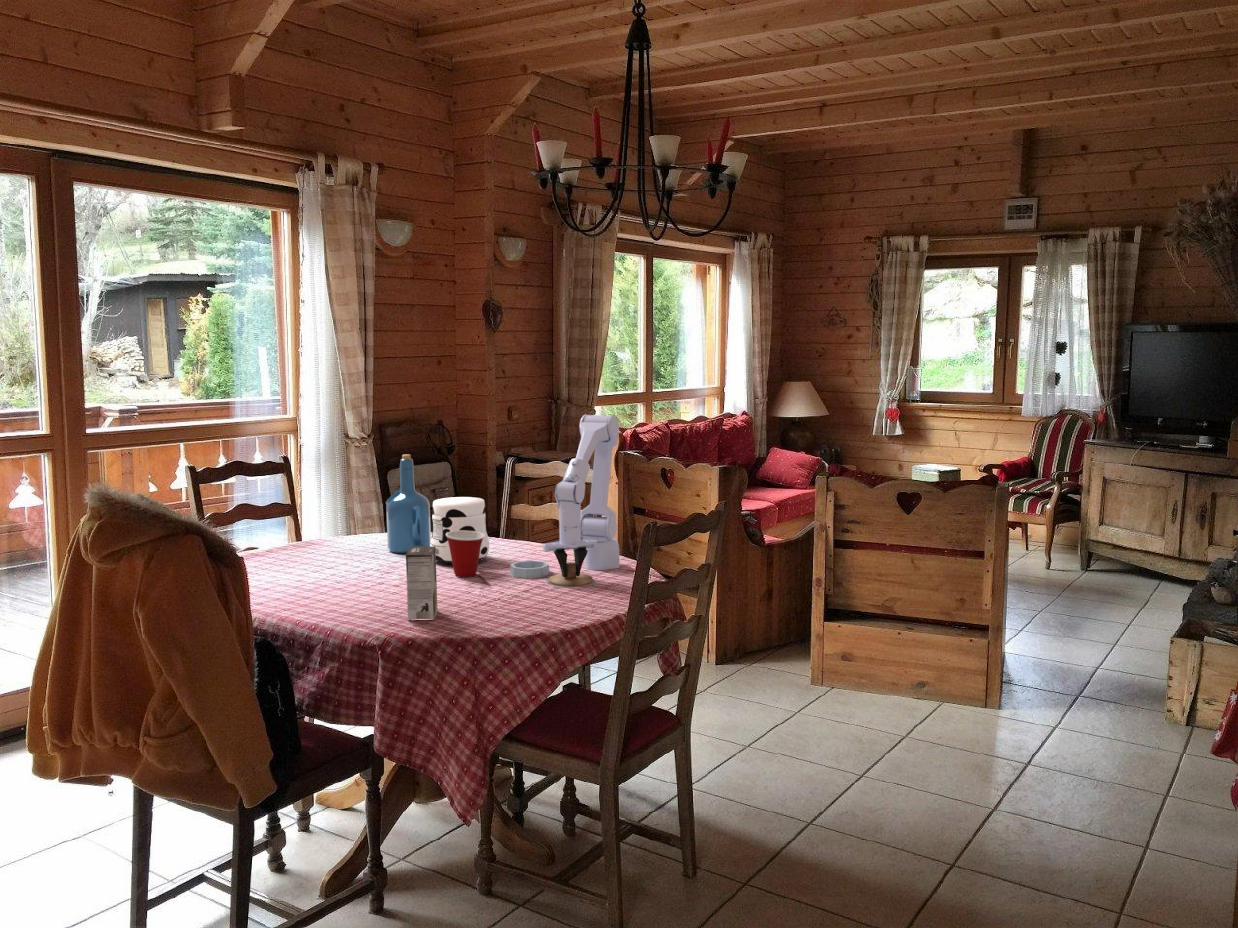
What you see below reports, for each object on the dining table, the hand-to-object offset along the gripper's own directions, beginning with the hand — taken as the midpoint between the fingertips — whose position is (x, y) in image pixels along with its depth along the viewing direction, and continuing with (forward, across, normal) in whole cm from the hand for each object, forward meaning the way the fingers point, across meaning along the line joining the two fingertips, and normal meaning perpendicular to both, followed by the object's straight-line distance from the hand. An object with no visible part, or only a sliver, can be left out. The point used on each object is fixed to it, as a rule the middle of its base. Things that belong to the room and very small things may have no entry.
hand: (570, 576), depth 273 cm
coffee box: (+3, -42, -16) cm, 45 cm away
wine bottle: (+3, -34, +61) cm, 70 cm away
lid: (+1, 0, 0) cm, 1 cm away
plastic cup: (+3, -24, +21) cm, 32 cm away
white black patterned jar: (+3, -22, +40) cm, 46 cm away
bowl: (+2, -8, +12) cm, 15 cm away
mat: (+2, 0, 0) cm, 2 cm away
